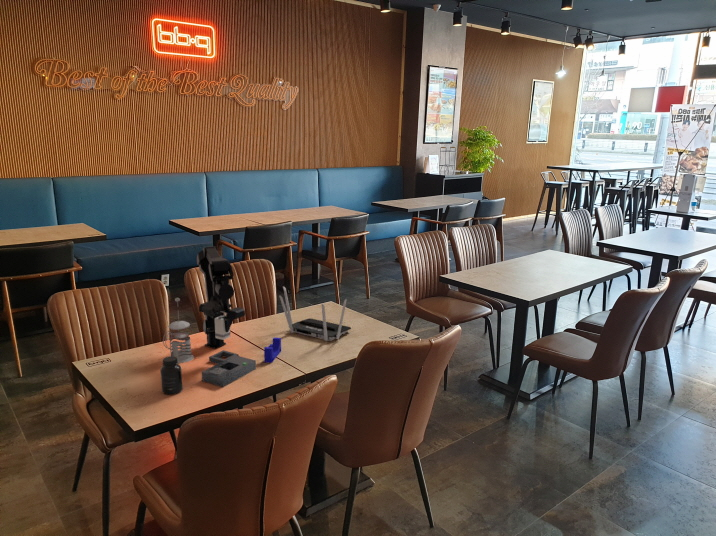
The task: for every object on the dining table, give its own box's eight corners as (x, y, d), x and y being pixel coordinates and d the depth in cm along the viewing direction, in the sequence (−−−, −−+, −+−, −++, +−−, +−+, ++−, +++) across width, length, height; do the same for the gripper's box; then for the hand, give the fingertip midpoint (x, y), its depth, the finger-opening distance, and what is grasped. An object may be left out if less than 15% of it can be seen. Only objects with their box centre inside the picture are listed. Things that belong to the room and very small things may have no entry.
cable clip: (270, 350, 229) (270, 337, 228) (281, 351, 228) (281, 337, 227) (260, 362, 217) (260, 347, 216) (271, 363, 217) (271, 348, 215)
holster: (209, 361, 217) (208, 356, 216) (223, 354, 224) (223, 350, 223) (224, 366, 213) (224, 361, 213) (238, 358, 220) (238, 354, 219)
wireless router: (361, 334, 249) (362, 291, 244) (333, 350, 230) (333, 304, 225) (301, 320, 266) (300, 280, 261) (270, 334, 246) (269, 291, 241)
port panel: (202, 380, 200) (201, 370, 199) (235, 363, 215) (235, 354, 215) (222, 387, 195) (222, 377, 195) (255, 369, 211) (255, 359, 210)
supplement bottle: (164, 386, 195) (162, 354, 192) (184, 386, 196) (182, 354, 193) (159, 395, 189) (157, 362, 186) (180, 395, 189) (178, 362, 186)
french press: (199, 358, 220) (195, 297, 214) (172, 366, 212) (167, 304, 206) (185, 351, 226) (182, 292, 220) (159, 359, 218) (154, 298, 212)
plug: (215, 338, 215) (214, 316, 213) (222, 334, 219) (221, 314, 217) (223, 340, 213) (222, 318, 211) (230, 336, 217) (229, 315, 215)
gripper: (187, 293, 209) (189, 333, 213) (224, 301, 200) (226, 342, 204) (208, 287, 219) (210, 324, 222) (245, 294, 210) (246, 333, 214)
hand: (222, 331), depth 215 cm, fingers closed on plug, 4 cm apart
